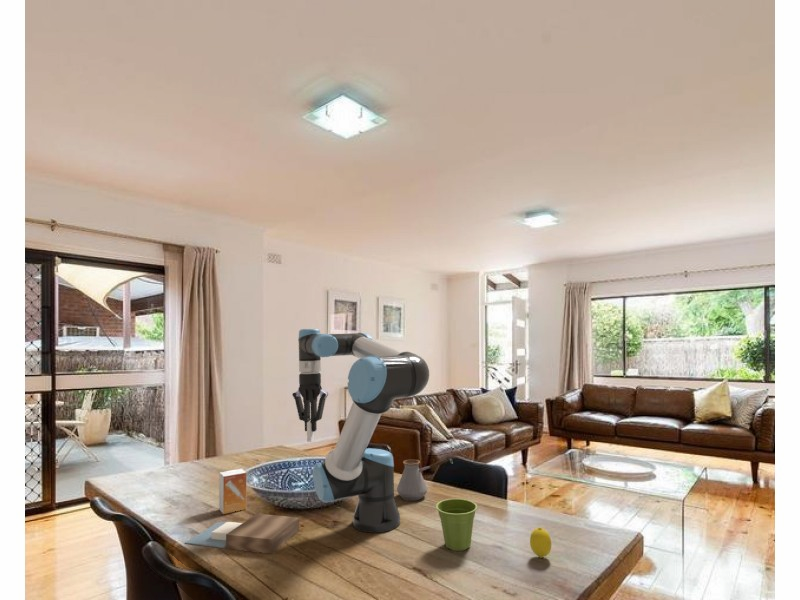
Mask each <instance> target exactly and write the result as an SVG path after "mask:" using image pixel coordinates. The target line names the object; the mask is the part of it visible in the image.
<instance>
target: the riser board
mask: <svg viewBox="0 0 800 600" xmlns="http://www.w3.org/2000/svg"><path fill="white" fill-rule="evenodd" d="M241 523H242V524H241V525H239V526H238V527H236V528H235V529H233V530H232V531H230V532H229V533H227V534H226V547H225V549H227V550H234V549H235V551H242V550H244V552H250V551H253V552H252V553H259V552H262V553H261V554H267V553H269V554H270V555H273V554H274V553H275V552H276V551H278V549H280V548H281V547H282V546H283V545H284V544H285V543H287V540H288V541H289V540H290V539H291V538H293V537H294V536H295V535H296V534H297V533H299V531H300V517H295V516H284V515H276V514H275V515H274V514H264V513H256V514H255V515H253V516H251V517H249V518H248V519H247V520H246V521H244V522H241ZM281 545H282V546H281ZM280 546H281V547H280ZM273 552H274V553H273ZM269 554H268V555H269Z"/></svg>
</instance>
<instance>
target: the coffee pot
mask: <svg viewBox="0 0 800 600" xmlns="http://www.w3.org/2000/svg"><path fill="white" fill-rule="evenodd" d="M447 462H450V463H451V464H454V462H453V459H452V458H451V457H450V458H444V459H443V460H439V461H437V462H434V463H433V464H430V465H428V466H424V467H421V468H420V466H419V465H420V464H421V461H420V460H419V459H405V460H403V462H402V463H403V465H404V469H403V471H402V474H401V477H400V479H399V482H398V485H397V487H396V491H397V494H398V495H399V496H400V497H401V498H402V499H403V500H406V501H417V500H422V498H423V497H424V496H425V495H426V494H427V492H428V486H427V484H426V482H425V478H424V476H423V475H422V472H423V471H426V470H428V469H431V468H433V467H434V468H435V467H437V466H440V465H442V464H444V463H447Z"/></svg>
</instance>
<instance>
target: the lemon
mask: <svg viewBox="0 0 800 600" xmlns="http://www.w3.org/2000/svg"><path fill="white" fill-rule="evenodd" d="M529 545H530V549H531V551H532V553H533V554H535V555H536V556H537V557H539V558H540V559H543V558H544V557H547V556H548V555H549V554H550V553H551V551H552V539H551V536H550V533H549V532H548V531H547V530H546V529H544V528H542V527H541V526H538V527H537V528H534V529H533V530H532V532H531V534H530V537H529Z"/></svg>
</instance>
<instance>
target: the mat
mask: <svg viewBox="0 0 800 600" xmlns="http://www.w3.org/2000/svg"><path fill="white" fill-rule="evenodd" d="M226 522H227V521H218V522H216V523H215V524H213V525H211V526H209V527H207V528H206V529H205V530H203V531H202V532H199V533H198V534H197V535H195V536H193V537H192V538H190V539H188V540H186V541H185V542H184V544H187V545H193V546H194V545H195V546H201V547H202V546H204V547H210V548H219V549H226V540H218V539H211V532H212V531H214V530H215V529H217V528H219V527H220V526H222V525H223V524H225V523H226Z"/></svg>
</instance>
